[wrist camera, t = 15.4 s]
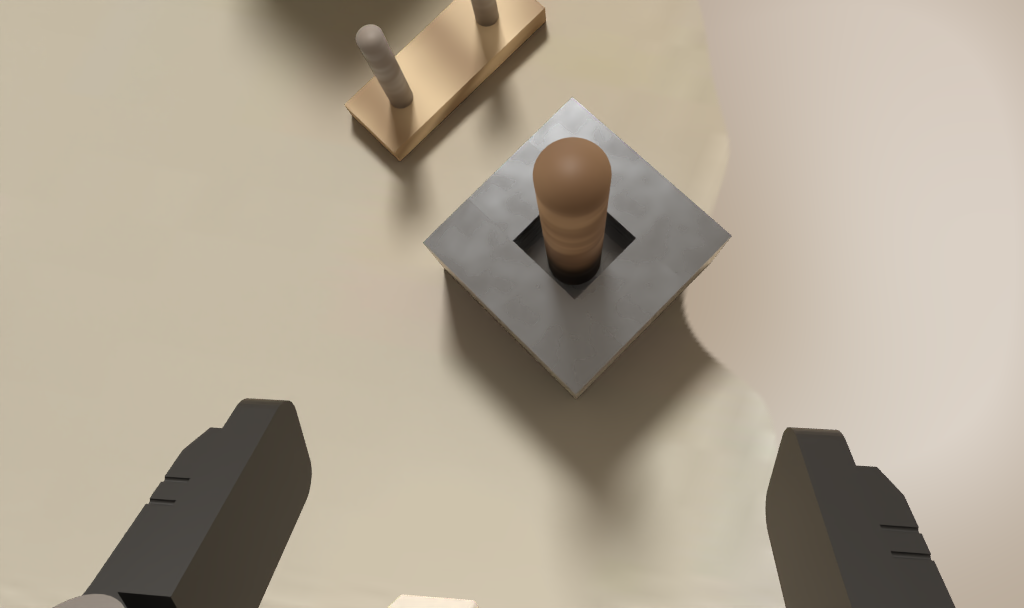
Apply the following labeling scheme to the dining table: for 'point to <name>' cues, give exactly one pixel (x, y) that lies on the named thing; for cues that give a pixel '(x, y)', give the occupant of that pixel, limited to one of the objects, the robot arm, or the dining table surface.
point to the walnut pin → (573, 206)
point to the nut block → (624, 261)
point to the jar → (431, 602)
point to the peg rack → (437, 67)
